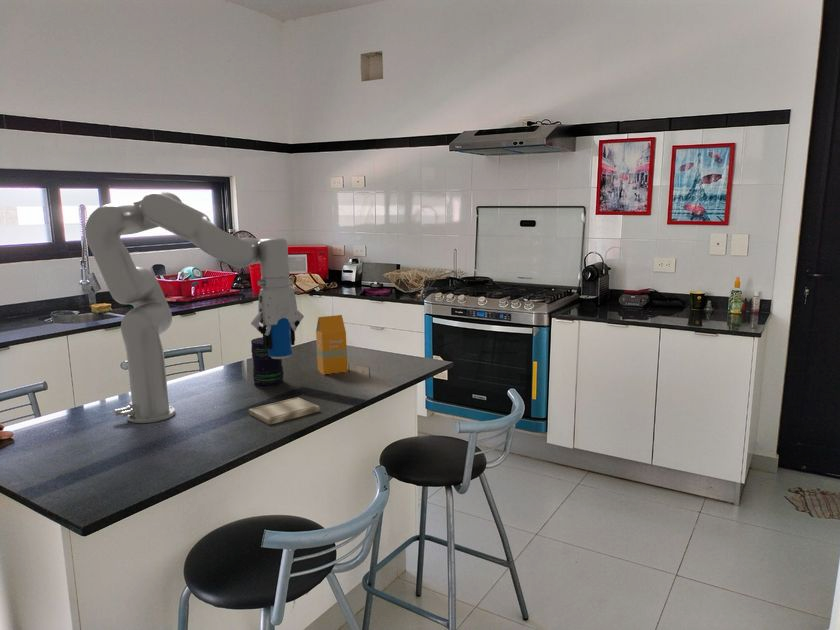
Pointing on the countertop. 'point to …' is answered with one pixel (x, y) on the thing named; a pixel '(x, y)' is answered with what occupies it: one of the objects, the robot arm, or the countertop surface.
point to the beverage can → (281, 339)
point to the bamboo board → (283, 410)
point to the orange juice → (331, 345)
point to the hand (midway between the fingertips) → (279, 345)
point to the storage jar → (265, 366)
